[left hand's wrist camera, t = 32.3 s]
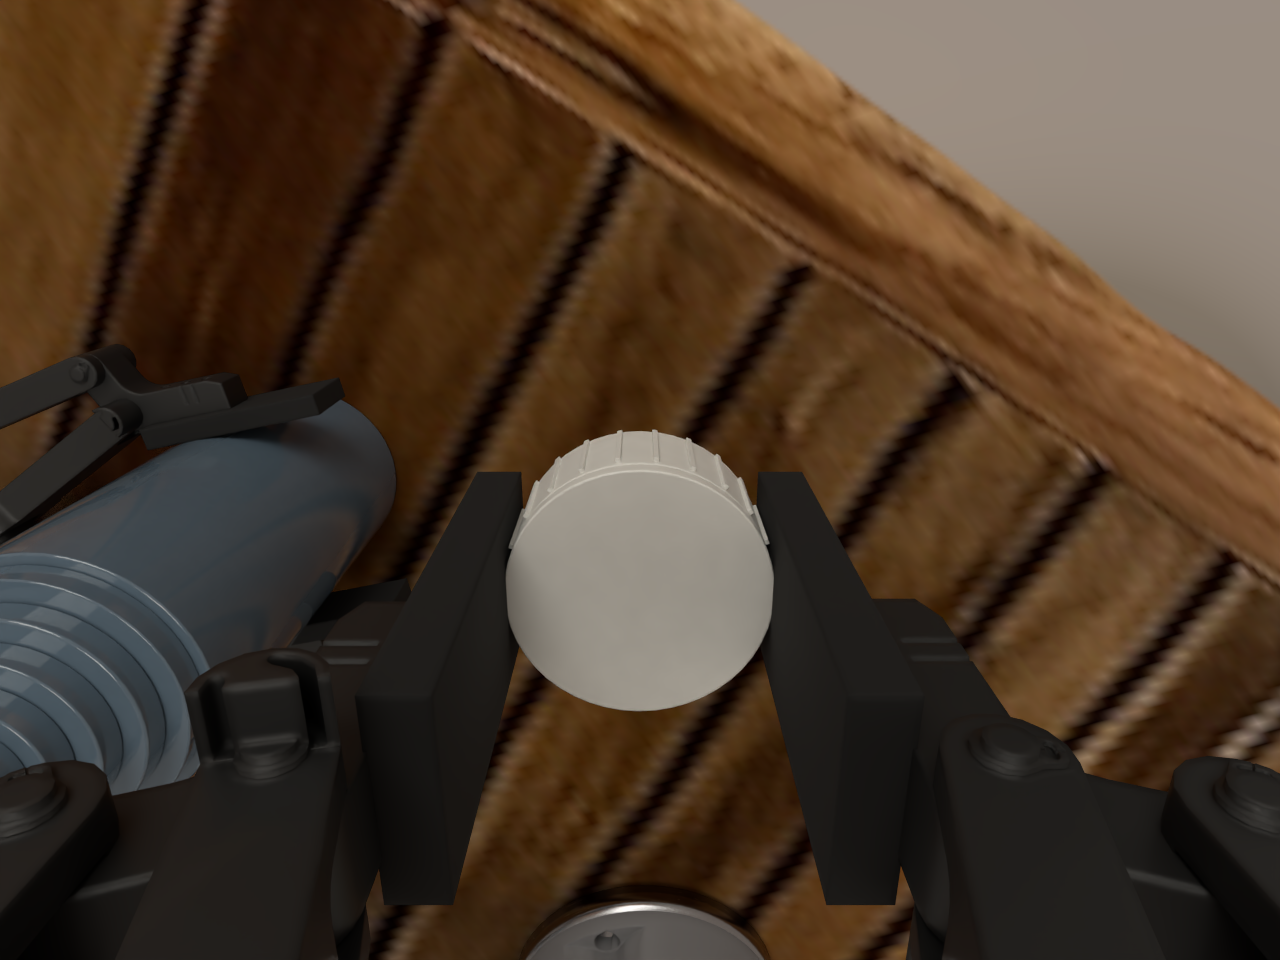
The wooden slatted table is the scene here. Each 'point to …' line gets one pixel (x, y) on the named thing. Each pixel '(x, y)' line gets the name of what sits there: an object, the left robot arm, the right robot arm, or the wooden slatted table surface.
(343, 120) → the wooden slatted table surface
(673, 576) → the cap
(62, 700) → the bottle
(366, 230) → the wooden slatted table surface
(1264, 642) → the wooden slatted table surface
